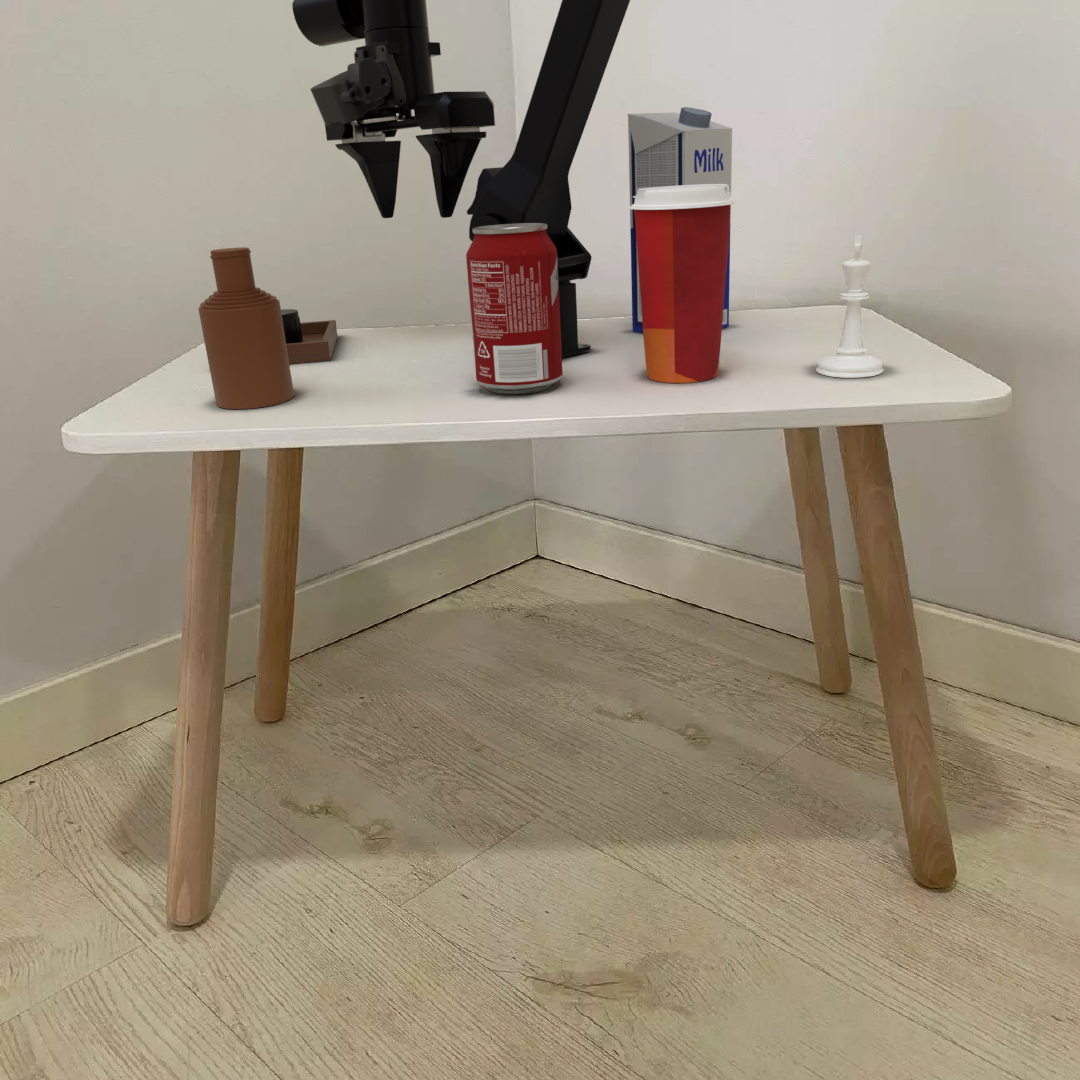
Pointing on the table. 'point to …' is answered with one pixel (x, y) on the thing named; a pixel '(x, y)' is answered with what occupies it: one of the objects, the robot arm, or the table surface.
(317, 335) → the tray
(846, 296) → the chess piece
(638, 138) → the milk carton
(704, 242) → the paper cup
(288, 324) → the cap
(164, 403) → the table surface
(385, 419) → the table surface
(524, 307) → the soda can
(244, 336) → the bottle
